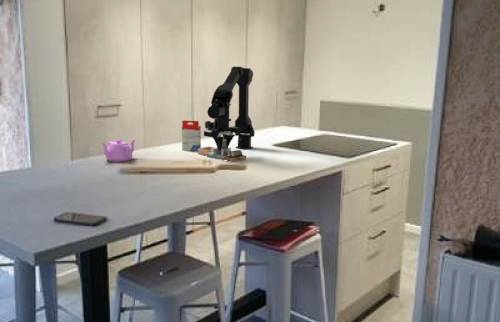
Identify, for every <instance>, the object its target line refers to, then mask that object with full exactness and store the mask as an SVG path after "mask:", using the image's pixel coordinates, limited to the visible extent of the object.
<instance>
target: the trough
mask: <svg viewBox="0 0 500 322" xmlns="http://www.w3.org/2000/svg"><path fill="white" fill-rule="evenodd" d="M224 160H227V161H226V162H229V161H234V162H238V160H240V161H244V160H247V155H244V154H242V156H240V157H235V158H228V157H226V156H222V160H221V161H224Z"/></svg>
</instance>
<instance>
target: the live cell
mask: <svg viewBox="0 0 500 322" xmlns="http://www.w3.org/2000/svg"><path fill="white" fill-rule="evenodd" d="M242 155H243V152H242V150H241V149H237V150H231V151H229V152H227V154H226V157H228V158H235V157H240V156H242Z"/></svg>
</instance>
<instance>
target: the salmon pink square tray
mask: <svg viewBox="0 0 500 322" xmlns="http://www.w3.org/2000/svg"><path fill="white" fill-rule="evenodd" d="M212 148H215V147H214V146H213V147H212V146H205V147H201V148H198V151H197V152H198V153H197V154H198V155H202V156H206V157H207V154H208V153H209V152H211V149H212Z"/></svg>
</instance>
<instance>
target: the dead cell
mask: <svg viewBox="0 0 500 322" xmlns="http://www.w3.org/2000/svg"><path fill="white" fill-rule="evenodd" d="M222 137H223V136H222ZM226 143H227V139H226V138H224V137H223V142H222V147H221V149H223V148H226ZM218 154H221V151H218Z"/></svg>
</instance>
